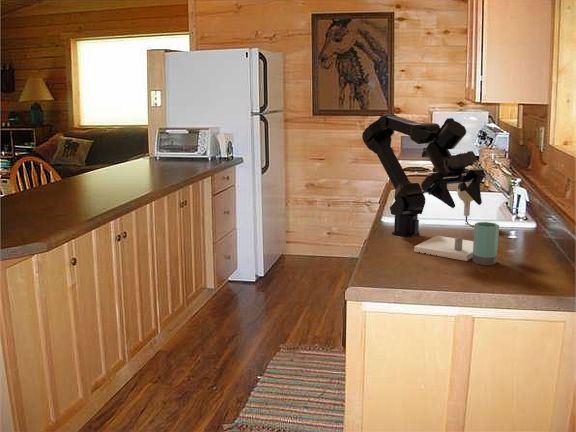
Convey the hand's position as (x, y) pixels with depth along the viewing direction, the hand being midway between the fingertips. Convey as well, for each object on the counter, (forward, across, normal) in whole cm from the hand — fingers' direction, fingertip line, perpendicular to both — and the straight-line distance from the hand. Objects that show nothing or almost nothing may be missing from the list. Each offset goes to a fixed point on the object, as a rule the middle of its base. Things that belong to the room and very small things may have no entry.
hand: (467, 205), depth 165 cm
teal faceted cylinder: (+15, 0, +4) cm, 16 cm away
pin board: (+6, 0, +13) cm, 15 cm away
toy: (-10, +26, +30) cm, 40 cm away
